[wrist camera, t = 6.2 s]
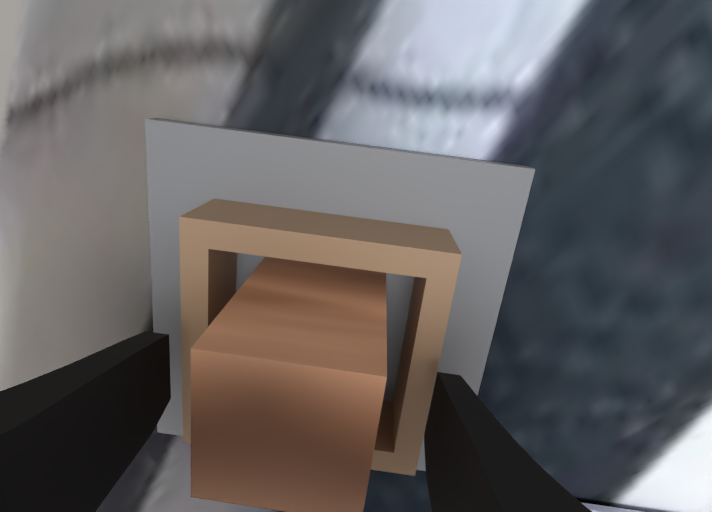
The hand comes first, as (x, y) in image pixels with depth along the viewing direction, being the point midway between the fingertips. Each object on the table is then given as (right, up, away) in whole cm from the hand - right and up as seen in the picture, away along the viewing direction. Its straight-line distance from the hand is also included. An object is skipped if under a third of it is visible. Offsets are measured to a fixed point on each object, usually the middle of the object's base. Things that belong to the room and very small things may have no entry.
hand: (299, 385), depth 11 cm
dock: (0, +1, +4) cm, 5 cm away
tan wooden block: (0, +1, +4) cm, 4 cm away
